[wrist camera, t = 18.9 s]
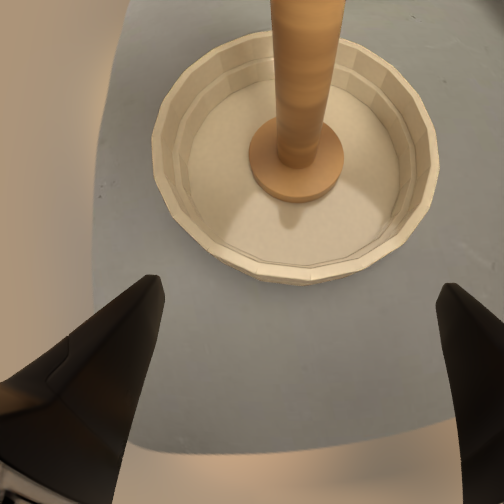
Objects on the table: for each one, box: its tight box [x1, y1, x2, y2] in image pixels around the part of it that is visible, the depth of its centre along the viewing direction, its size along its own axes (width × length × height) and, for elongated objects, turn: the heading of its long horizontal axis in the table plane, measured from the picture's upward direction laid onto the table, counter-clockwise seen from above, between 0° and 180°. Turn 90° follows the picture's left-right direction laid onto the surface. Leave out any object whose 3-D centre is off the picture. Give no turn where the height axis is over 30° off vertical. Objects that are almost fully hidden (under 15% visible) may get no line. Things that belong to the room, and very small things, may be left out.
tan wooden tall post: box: [248, 0, 346, 203], centre depth 13 cm, size 6×6×15 cm
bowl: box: [151, 31, 440, 286], centre depth 18 cm, size 16×16×5 cm
